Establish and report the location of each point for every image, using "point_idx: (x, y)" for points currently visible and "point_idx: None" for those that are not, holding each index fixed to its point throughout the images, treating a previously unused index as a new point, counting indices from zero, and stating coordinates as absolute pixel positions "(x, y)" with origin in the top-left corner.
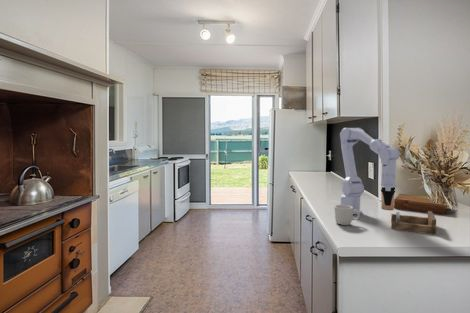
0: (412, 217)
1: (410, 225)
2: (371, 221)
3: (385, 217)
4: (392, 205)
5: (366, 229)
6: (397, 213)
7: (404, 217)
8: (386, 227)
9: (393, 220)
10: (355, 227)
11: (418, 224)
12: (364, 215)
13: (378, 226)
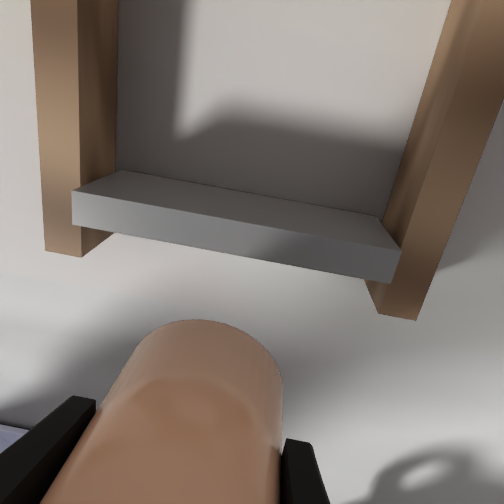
0: (82, 13)
1: (483, 133)
2: None
3: (15, 260)
4: (258, 401)
5: (441, 449)
6: (145, 227)
7: (89, 117)
8: (355, 313)
9: None
10: (401, 499)
11: (488, 22)
12: (39, 403)
13: (339, 364)
